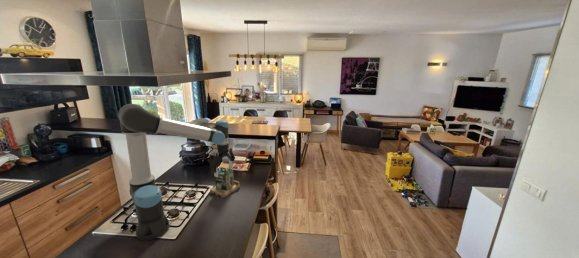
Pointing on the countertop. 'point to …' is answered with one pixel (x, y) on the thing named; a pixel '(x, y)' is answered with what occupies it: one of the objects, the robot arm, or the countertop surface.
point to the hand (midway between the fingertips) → (223, 173)
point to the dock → (223, 192)
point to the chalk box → (224, 179)
